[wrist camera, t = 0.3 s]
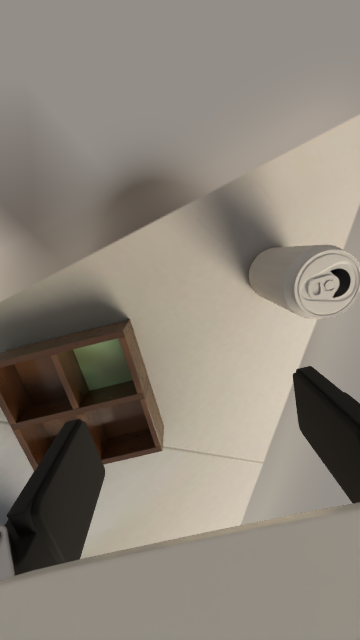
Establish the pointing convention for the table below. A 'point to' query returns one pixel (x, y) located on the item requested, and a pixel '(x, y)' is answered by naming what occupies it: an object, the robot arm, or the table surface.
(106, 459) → the tray
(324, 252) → the beverage can
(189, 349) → the table surface
